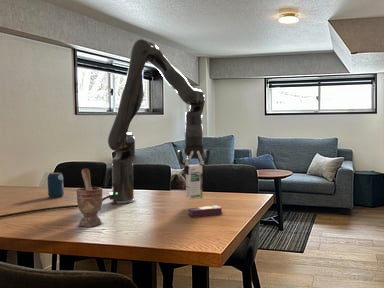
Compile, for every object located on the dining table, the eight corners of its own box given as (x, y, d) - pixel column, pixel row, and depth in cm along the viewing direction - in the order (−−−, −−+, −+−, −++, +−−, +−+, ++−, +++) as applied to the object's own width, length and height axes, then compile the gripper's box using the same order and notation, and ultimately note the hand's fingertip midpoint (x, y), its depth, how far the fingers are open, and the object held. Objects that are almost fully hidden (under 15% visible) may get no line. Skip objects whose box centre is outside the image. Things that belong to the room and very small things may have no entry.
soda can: (66, 196, 193) (66, 172, 192) (53, 198, 187) (52, 174, 187) (58, 195, 197) (58, 171, 196) (45, 197, 191) (44, 173, 190)
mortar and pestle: (68, 223, 140) (66, 169, 139) (90, 219, 147) (88, 167, 146) (86, 228, 134) (84, 171, 133) (108, 223, 141) (106, 169, 140)
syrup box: (189, 199, 164) (189, 165, 163) (185, 197, 169) (185, 164, 168) (202, 198, 166) (202, 165, 165) (198, 196, 172) (198, 163, 171)
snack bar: (192, 217, 149) (192, 210, 149) (189, 214, 154) (189, 207, 154) (221, 213, 155) (221, 207, 154) (217, 211, 159) (217, 205, 159)
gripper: (207, 134, 172) (207, 172, 173) (175, 135, 166) (175, 173, 167) (212, 135, 166) (212, 174, 167) (179, 135, 160) (179, 176, 161)
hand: (194, 173), depth 167 cm, fingers closed on syrup box, 5 cm apart
